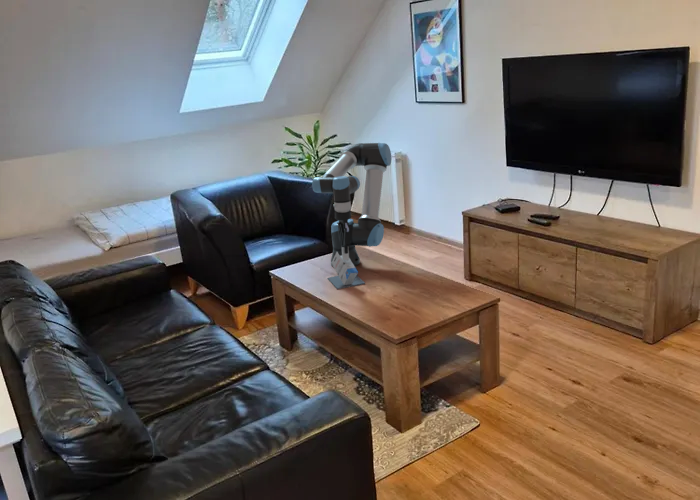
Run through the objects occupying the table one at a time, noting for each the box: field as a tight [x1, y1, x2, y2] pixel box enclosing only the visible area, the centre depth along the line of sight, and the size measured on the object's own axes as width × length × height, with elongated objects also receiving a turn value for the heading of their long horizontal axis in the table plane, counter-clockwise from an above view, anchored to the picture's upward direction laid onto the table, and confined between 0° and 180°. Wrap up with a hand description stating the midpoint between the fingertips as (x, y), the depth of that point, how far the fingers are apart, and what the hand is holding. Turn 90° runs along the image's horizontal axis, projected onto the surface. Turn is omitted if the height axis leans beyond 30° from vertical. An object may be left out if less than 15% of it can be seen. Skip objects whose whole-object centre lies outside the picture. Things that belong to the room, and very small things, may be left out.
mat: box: [326, 275, 366, 290], centre depth 308 cm, size 16×14×1 cm
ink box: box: [330, 252, 359, 285], centre depth 302 cm, size 8×5×15 cm
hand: (345, 259), depth 299 cm, fingers closed
